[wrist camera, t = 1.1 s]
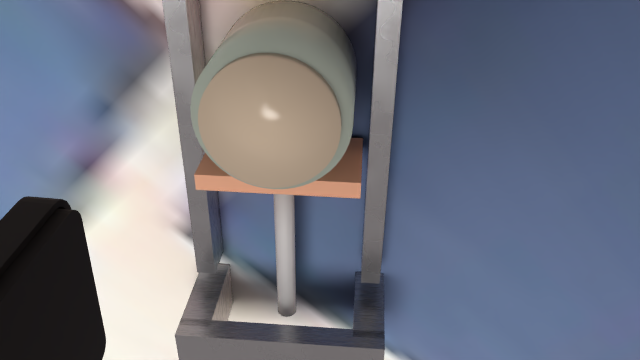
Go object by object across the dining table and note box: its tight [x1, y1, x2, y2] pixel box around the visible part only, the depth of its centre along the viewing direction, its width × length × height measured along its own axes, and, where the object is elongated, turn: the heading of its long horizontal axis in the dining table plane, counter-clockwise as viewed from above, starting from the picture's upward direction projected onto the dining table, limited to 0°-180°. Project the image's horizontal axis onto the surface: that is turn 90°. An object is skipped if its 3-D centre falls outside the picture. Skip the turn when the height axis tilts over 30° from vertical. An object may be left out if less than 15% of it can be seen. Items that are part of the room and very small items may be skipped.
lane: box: [162, 0, 403, 360], centre depth 29 cm, size 20×11×6 cm, turn 179°
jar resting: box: [190, 1, 357, 189], centre depth 26 cm, size 6×6×6 cm
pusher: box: [194, 138, 363, 317], centre depth 30 cm, size 10×7×4 cm
